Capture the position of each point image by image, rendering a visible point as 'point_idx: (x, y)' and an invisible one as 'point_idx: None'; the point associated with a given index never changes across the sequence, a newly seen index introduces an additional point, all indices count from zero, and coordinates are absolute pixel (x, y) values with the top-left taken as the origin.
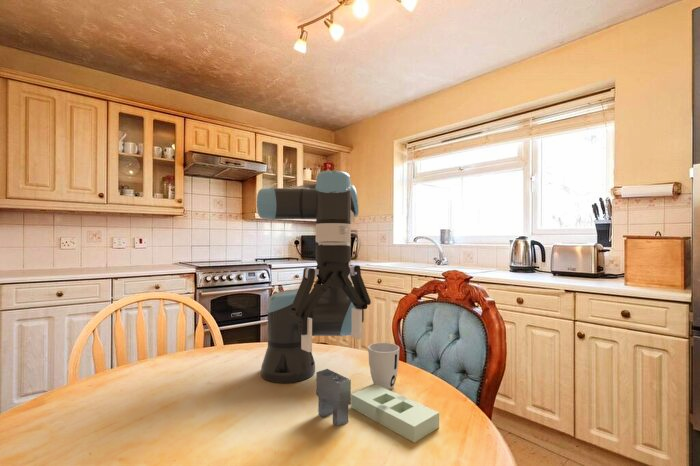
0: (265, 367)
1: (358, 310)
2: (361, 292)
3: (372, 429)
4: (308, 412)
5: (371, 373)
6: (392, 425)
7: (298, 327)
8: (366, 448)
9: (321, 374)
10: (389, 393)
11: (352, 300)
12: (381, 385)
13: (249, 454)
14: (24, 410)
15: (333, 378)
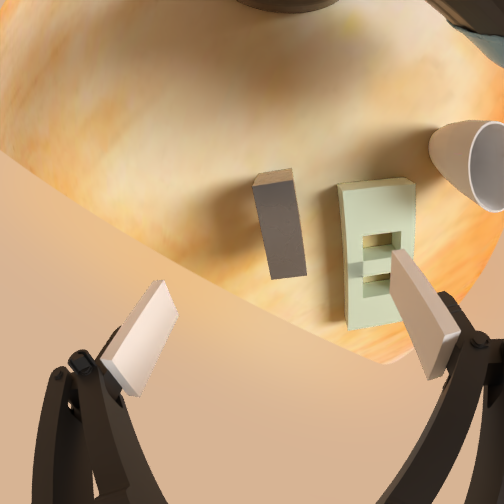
0: None
1: (427, 373)
2: (485, 434)
3: (321, 265)
4: (249, 154)
5: (438, 141)
6: (345, 286)
7: (107, 342)
8: (282, 295)
9: (257, 208)
10: (405, 235)
11: (442, 397)
12: (434, 164)
13: (134, 226)
14: None
15: (274, 247)
